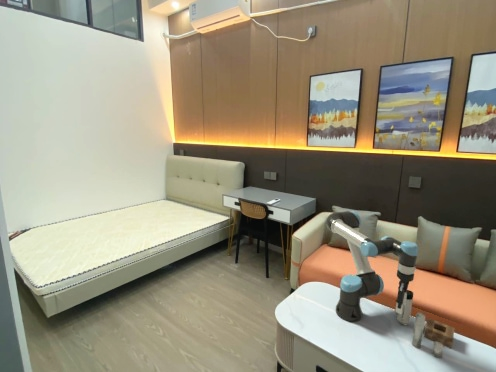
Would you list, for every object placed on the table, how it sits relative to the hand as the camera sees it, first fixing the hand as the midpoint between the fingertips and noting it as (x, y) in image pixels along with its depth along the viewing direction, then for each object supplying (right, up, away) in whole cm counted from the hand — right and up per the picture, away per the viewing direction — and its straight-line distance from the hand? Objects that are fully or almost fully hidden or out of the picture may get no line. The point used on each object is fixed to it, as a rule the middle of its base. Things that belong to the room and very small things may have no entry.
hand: (399, 310), depth 141 cm
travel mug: (+10, -13, +14) cm, 22 cm away
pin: (0, -3, +1) cm, 3 cm away
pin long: (+7, -17, -3) cm, 18 cm away
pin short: (+14, -18, -9) cm, 24 cm away
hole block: (+22, -16, +2) cm, 27 cm away
